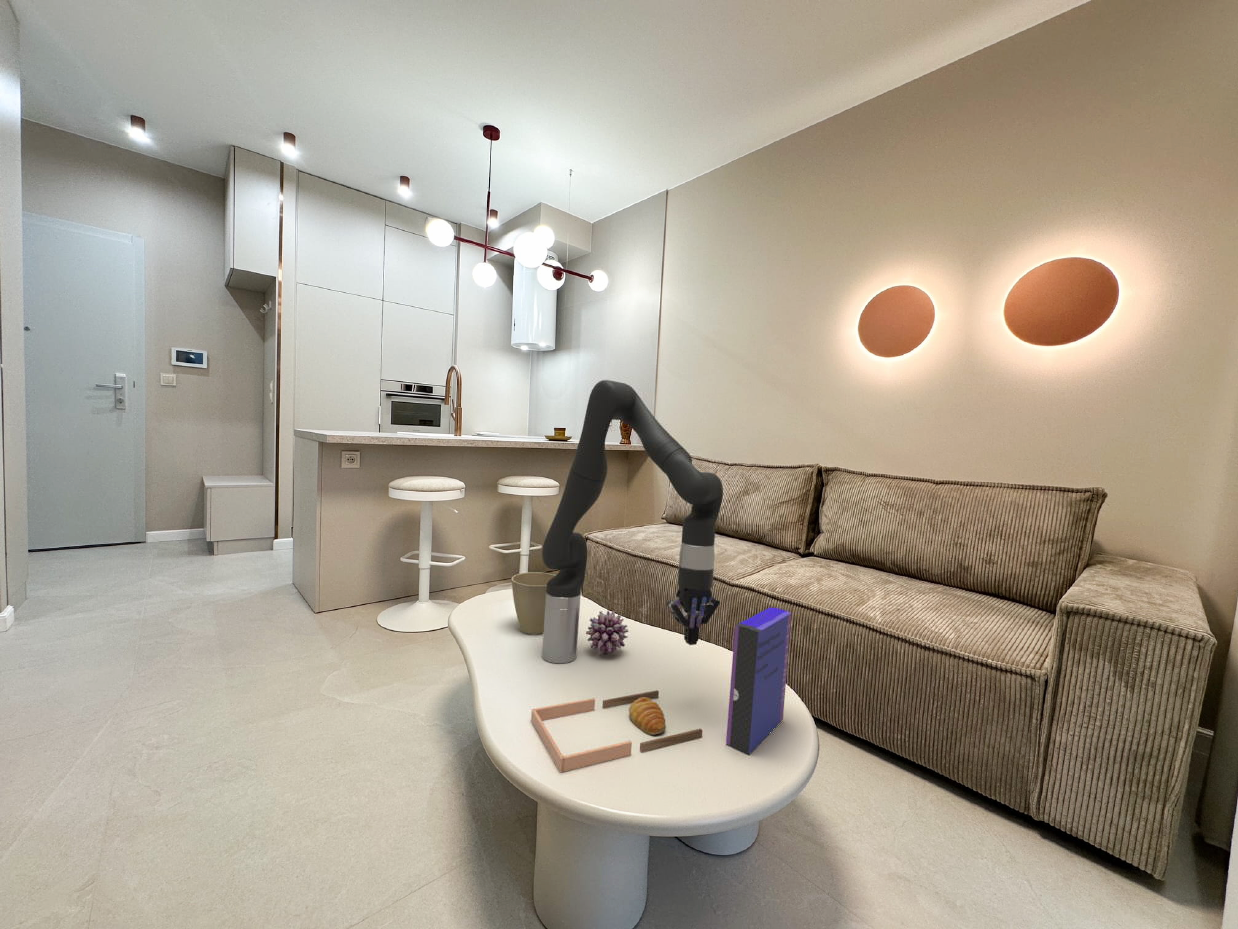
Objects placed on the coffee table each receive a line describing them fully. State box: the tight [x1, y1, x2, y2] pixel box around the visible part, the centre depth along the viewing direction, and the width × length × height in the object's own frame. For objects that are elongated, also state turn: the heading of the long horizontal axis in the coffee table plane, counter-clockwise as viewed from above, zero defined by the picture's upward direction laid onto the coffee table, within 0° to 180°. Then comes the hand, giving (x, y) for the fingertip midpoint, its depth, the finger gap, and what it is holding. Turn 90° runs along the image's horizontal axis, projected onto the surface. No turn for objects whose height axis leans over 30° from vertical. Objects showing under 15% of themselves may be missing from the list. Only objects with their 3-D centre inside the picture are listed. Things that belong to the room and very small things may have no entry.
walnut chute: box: [602, 689, 703, 753], centre depth 103 cm, size 17×14×2 cm
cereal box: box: [725, 606, 792, 756], centre depth 101 cm, size 17×5×24 cm, turn 141°
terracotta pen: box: [530, 697, 633, 774], centre depth 95 cm, size 17×14×2 cm
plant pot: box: [511, 571, 557, 635], centre depth 149 cm, size 15×15×16 cm
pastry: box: [628, 697, 667, 736], centre depth 102 cm, size 9×7×4 cm
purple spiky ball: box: [585, 610, 629, 655], centre depth 136 cm, size 12×12×12 cm
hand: (690, 643), depth 107 cm, fingers closed
